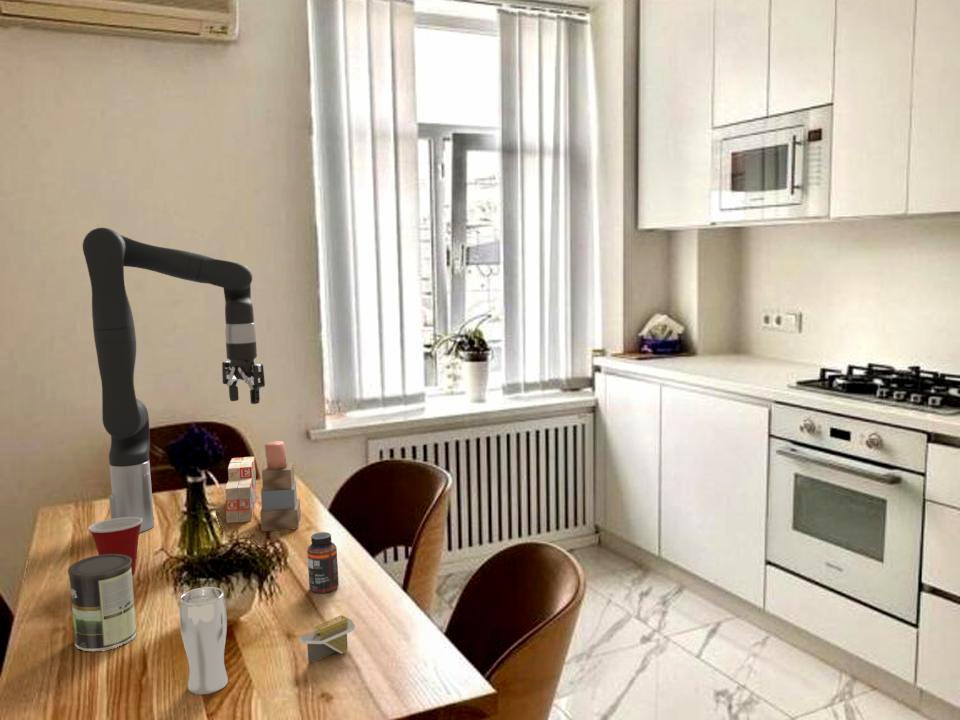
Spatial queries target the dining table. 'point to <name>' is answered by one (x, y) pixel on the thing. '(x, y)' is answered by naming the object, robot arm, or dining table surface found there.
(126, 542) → the plastic cup
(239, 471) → the stack of blocks
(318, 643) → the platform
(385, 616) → the dining table surface
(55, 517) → the dining table surface
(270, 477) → the tower top
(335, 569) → the supplement bottle
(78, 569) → the coffee can
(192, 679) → the beer glass
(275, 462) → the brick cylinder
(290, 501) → the tower middle
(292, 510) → the tower bottom
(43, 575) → the dining table surface
